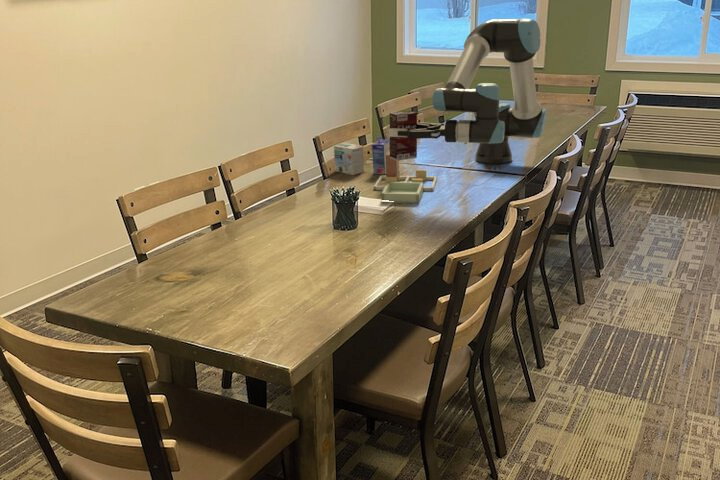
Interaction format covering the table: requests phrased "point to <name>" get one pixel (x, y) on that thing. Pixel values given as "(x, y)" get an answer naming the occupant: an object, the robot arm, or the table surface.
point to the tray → (403, 192)
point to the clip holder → (418, 178)
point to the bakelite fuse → (392, 167)
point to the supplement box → (402, 145)
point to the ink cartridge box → (380, 155)
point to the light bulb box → (349, 158)
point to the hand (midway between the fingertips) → (392, 129)
